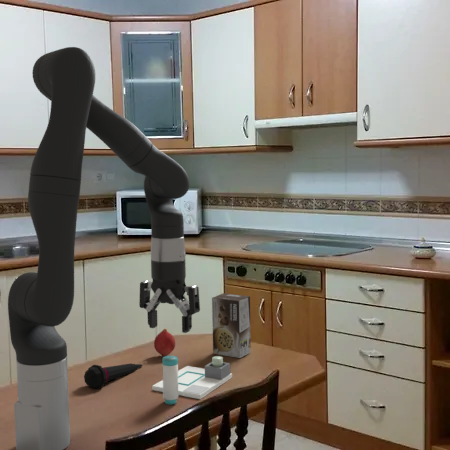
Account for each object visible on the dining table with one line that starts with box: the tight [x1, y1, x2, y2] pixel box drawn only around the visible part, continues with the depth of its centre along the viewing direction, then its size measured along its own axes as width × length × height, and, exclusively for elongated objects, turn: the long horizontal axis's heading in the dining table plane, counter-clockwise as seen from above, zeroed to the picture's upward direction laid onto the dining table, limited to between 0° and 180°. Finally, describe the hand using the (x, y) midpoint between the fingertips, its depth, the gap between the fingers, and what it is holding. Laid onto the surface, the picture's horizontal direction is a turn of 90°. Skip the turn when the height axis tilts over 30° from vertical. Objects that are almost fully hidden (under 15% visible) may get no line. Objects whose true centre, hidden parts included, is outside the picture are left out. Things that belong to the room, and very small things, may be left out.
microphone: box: [83, 363, 143, 389], centre depth 160 cm, size 6×6×20 cm
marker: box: [162, 355, 179, 406], centre depth 143 cm, size 4×4×10 cm
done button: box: [211, 355, 224, 367], centre depth 158 cm, size 3×3×2 cm
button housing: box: [204, 361, 231, 380], centre depth 158 cm, size 5×5×3 cm
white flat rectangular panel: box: [151, 365, 233, 400], centre depth 155 cm, size 16×13×1 cm
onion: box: [153, 327, 176, 357], centre depth 176 cm, size 6×6×8 cm
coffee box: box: [211, 292, 252, 359], centre depth 178 cm, size 9×6×16 cm
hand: (169, 329), depth 142 cm, fingers open, 8 cm apart
